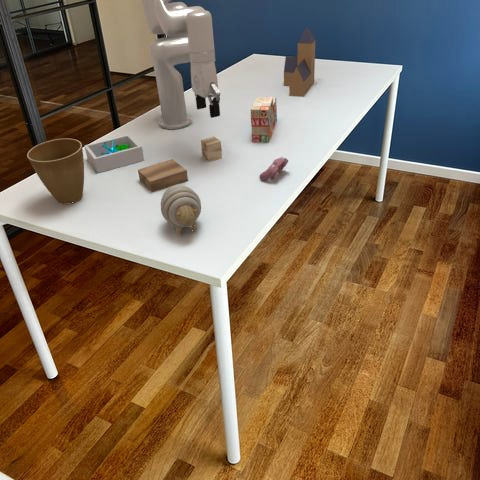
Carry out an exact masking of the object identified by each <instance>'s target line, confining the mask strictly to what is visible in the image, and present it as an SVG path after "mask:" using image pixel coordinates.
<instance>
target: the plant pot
mask: <svg viewBox="0 0 480 480" xmlns="http://www.w3.org/2000/svg"><path fill="white" fill-rule="evenodd" d="M26 156H27V159H28V161H29V163H30V164H31V166H32V168H33V170H34V172H35V173H36V175H37V176H38V178H39V180H40V182H41V183H42V184H43V186H44V187H45V188H46V190H47V191H48V192H49V194H51V196H52V197H53V198H54V199H55V201H57V203H58V204H60V203H63V204H62V205H69V204H68V203H71V204H73V203H72V202H74V203H77V202H79V201H80V200H81V199H82V198H83V194H84V185H85V159H84V151H83V144H82V142H81V141H79V140H78V139H74V138H66V137H65V138H56V139H52V140H48V141H44V142H41V143H38V144H37V145H35V146H34V147H32V148H30V150H28V152H27V154H26ZM79 199H80V200H79ZM78 200H79V201H78ZM76 201H77V202H76Z"/></svg>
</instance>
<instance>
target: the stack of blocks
mask: <svg viewBox="0 0 480 480" xmlns="http://www.w3.org/2000/svg"><path fill="white" fill-rule="evenodd" d="M277 113H278V108H277V96H256V97H255V100H254V102H253V104H252V106H251V107H250V126H251V143H258V144H259V143H265V144H269V143H270V141H271V139H272V136H273V134H274V129H275V126H276V125H277V121H278V115H277Z"/></svg>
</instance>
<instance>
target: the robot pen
mask: <svg viewBox="0 0 480 480" xmlns="http://www.w3.org/2000/svg"><path fill="white" fill-rule="evenodd" d="M112 140H113V143H114V147H115V146H116V145H118V146H121V145H123V144H125V145H128V146H129V147H130V149H126V150H122V151H119V152H115V153H111V154H107V155H101V153H108V152H109V151H108V150H107V149H106V148H105V147H102V146H103V145H104V142H106V143H105V144H106V145H107V146H108V148H110V149H112V142H111V141H112ZM104 146H105V145H104ZM83 147H84V151H85V153H86V154H85V155H86V159H87V161H88V162H89V163H90V165H91V166H92V167H93V169H94V170H95V171H96V173H97V174H100V173H104V172H107V171H111V170H115V169H118V168H121V167H126V166H129V165H133V164H137V163H140V162H143V161H145V157H144V152H143V151H144V150H143V147H142V145H141V144H140V143H138V141H137V140H136V139H135V138H133V137H132V135H130V134H125V135H120V136H116V137H113V138H109V139H105V140H101V141H98V142H92V143H90V144H85V145H84V146H83Z"/></svg>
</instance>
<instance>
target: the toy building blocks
mask: <svg viewBox="0 0 480 480" xmlns="http://www.w3.org/2000/svg"><path fill="white" fill-rule="evenodd" d="M315 60H316V39H315V37H314V35H313V34H312V32H311V31H310V29H309V27H308V26H306V27H305V29H304V31H303V32H302V35H301V37H300V38H299V40H298V42H297V55H295V56H293V55H285V58H284V68H283V87H288V88H289V95H288V96H289V97H299V98H300V97H302V98H304V97H305V96H306V95H307V94H308V92H309V90H311V89H312V87H313V85H314V84H315V72H316V71H315V67H316V66H315V65H316V61H315Z"/></svg>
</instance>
